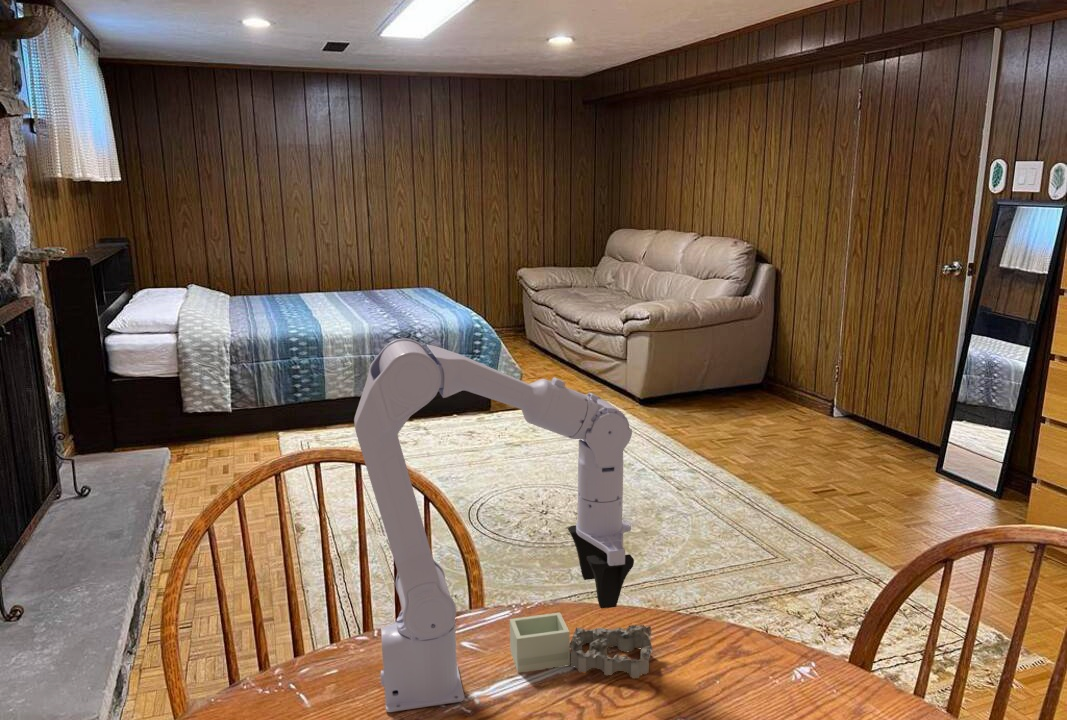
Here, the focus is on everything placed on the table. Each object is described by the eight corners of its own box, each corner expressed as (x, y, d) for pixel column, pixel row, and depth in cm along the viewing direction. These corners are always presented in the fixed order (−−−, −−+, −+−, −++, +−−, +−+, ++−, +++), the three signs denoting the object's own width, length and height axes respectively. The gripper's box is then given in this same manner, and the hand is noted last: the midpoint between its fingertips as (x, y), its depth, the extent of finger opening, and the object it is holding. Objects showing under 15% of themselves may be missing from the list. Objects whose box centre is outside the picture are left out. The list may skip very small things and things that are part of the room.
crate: (517, 673, 103) (516, 639, 102) (510, 652, 108) (509, 619, 107) (569, 666, 104) (569, 631, 103) (560, 645, 109) (559, 612, 108)
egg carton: (654, 652, 107) (655, 625, 107) (647, 685, 100) (648, 656, 99) (577, 641, 110) (577, 614, 109) (565, 672, 103) (565, 644, 102)
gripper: (650, 513, 95) (647, 616, 98) (612, 472, 109) (611, 563, 112) (593, 518, 93) (592, 623, 96) (562, 476, 107) (562, 569, 110)
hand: (599, 591), depth 104 cm, fingers open, 7 cm apart
